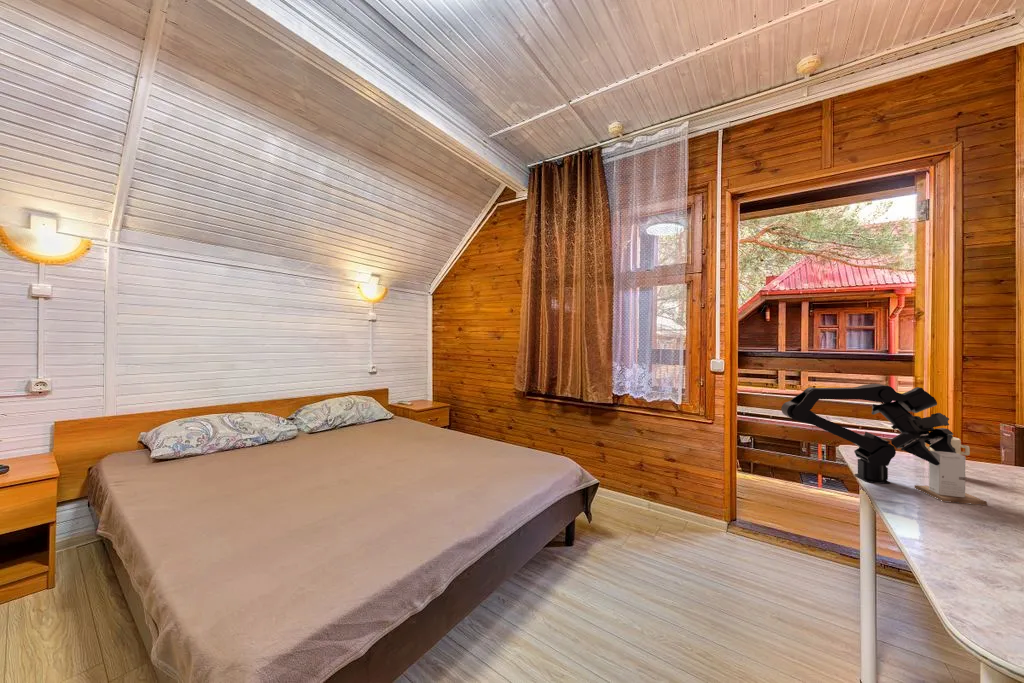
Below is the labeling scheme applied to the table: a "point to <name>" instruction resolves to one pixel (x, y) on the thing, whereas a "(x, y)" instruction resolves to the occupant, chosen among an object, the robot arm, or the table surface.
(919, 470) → the table surface
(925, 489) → the walnut coaster
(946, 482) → the skincare box
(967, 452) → the character mug
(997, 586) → the table surface
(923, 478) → the table surface
